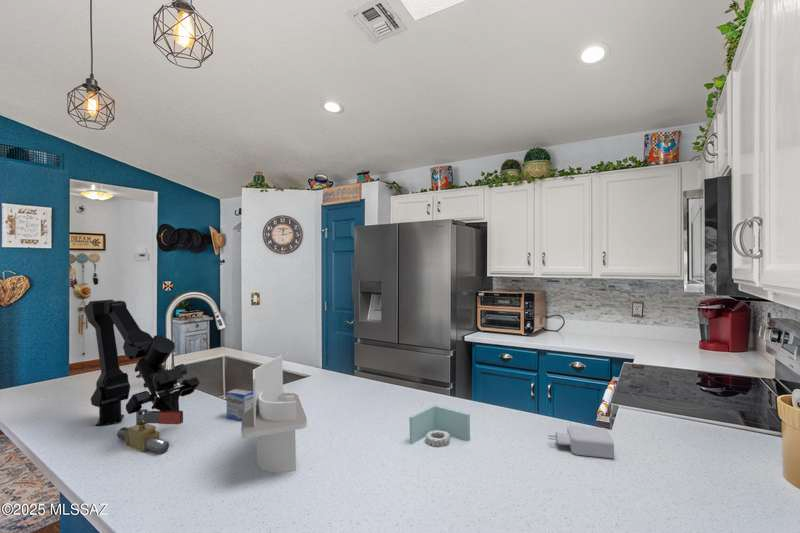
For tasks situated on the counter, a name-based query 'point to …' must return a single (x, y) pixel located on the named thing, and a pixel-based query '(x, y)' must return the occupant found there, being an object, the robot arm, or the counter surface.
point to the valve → (143, 438)
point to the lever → (159, 417)
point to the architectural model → (273, 419)
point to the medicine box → (238, 403)
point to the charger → (587, 441)
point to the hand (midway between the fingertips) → (178, 418)
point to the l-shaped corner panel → (439, 425)
